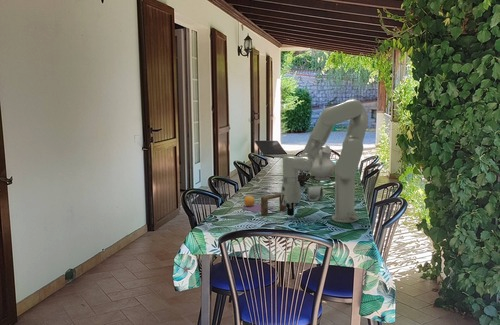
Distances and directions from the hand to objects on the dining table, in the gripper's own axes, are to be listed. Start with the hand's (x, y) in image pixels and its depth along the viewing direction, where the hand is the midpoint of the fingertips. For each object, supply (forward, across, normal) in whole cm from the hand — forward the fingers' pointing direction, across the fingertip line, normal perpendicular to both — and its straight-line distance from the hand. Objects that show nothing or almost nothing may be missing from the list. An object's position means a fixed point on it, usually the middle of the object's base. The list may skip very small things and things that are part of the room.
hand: (290, 215), depth 228 cm
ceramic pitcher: (+2, +88, +59) cm, 106 cm away
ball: (-2, -1, +33) cm, 33 cm away
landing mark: (+2, 0, +27) cm, 27 cm away
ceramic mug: (+2, +38, +19) cm, 42 cm away
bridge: (+2, 0, +13) cm, 13 cm away
